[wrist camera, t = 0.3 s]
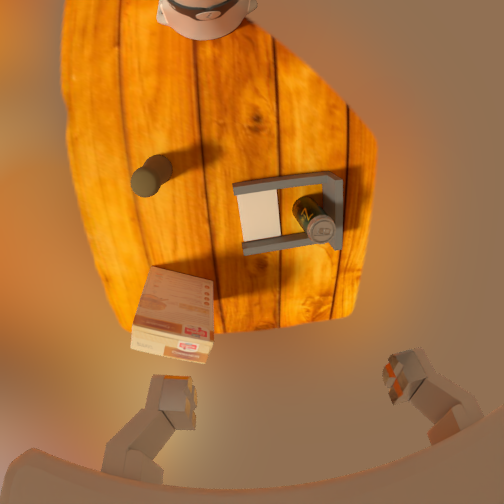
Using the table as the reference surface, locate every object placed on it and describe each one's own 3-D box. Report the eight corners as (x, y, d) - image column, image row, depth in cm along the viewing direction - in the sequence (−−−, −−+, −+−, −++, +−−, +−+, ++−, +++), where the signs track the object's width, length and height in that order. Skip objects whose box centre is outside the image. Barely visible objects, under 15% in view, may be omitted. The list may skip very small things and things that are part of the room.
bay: (232, 183, 53) (234, 193, 47) (329, 171, 54) (342, 179, 48) (242, 249, 60) (245, 265, 54) (330, 234, 61) (341, 249, 55)
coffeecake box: (147, 288, 62) (129, 349, 45) (151, 264, 59) (131, 323, 42) (206, 303, 66) (205, 365, 49) (214, 280, 63) (214, 342, 46)
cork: (173, 156, 49) (163, 167, 39) (170, 185, 52) (160, 203, 42) (143, 154, 48) (126, 164, 38) (142, 183, 50) (125, 201, 41)
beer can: (317, 196, 56) (340, 218, 46) (313, 220, 59) (333, 246, 48) (293, 194, 55) (311, 215, 45) (289, 218, 58) (305, 244, 48)
